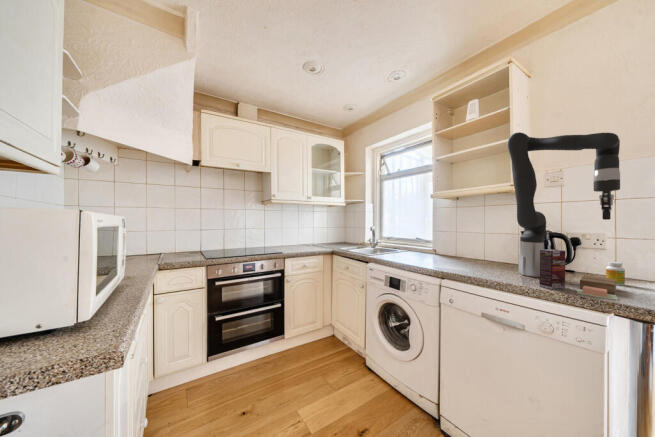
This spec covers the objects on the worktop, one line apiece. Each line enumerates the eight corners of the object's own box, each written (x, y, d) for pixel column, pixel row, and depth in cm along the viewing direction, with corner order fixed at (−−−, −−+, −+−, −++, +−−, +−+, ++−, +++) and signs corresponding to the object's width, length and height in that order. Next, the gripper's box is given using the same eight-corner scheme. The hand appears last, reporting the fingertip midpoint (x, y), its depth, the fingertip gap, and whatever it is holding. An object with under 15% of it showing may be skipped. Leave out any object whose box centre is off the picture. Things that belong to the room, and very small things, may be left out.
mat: (577, 293, 91) (577, 292, 91) (577, 290, 96) (577, 289, 96) (617, 300, 84) (617, 299, 84) (615, 295, 89) (615, 295, 89)
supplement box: (552, 289, 97) (552, 251, 97) (538, 286, 101) (538, 249, 101) (566, 288, 99) (566, 250, 99) (552, 284, 104) (552, 248, 104)
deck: (584, 284, 105) (584, 275, 105) (615, 289, 98) (615, 279, 98) (579, 289, 96) (579, 280, 96) (614, 295, 89) (614, 284, 89)
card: (582, 287, 91) (582, 293, 91) (606, 291, 86) (606, 297, 86) (583, 285, 94) (583, 290, 94) (607, 289, 89) (607, 294, 89)
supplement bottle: (619, 286, 103) (619, 263, 103) (602, 282, 108) (602, 261, 108) (628, 285, 104) (628, 263, 104) (611, 282, 109) (611, 261, 109)
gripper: (595, 182, 110) (595, 219, 109) (592, 179, 102) (591, 219, 101) (620, 180, 104) (620, 219, 104) (619, 177, 96) (619, 219, 95)
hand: (606, 219), depth 102 cm, fingers closed
